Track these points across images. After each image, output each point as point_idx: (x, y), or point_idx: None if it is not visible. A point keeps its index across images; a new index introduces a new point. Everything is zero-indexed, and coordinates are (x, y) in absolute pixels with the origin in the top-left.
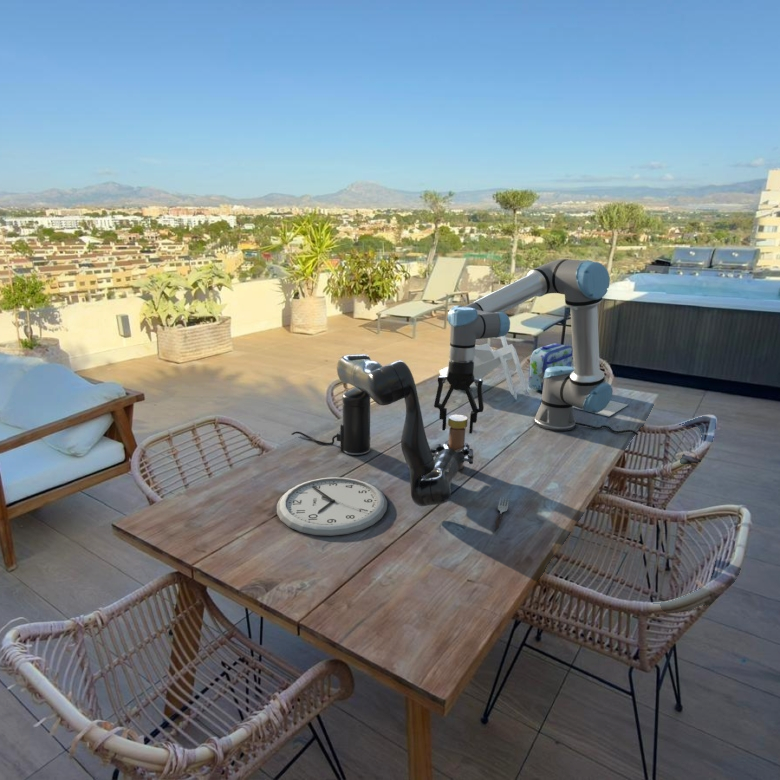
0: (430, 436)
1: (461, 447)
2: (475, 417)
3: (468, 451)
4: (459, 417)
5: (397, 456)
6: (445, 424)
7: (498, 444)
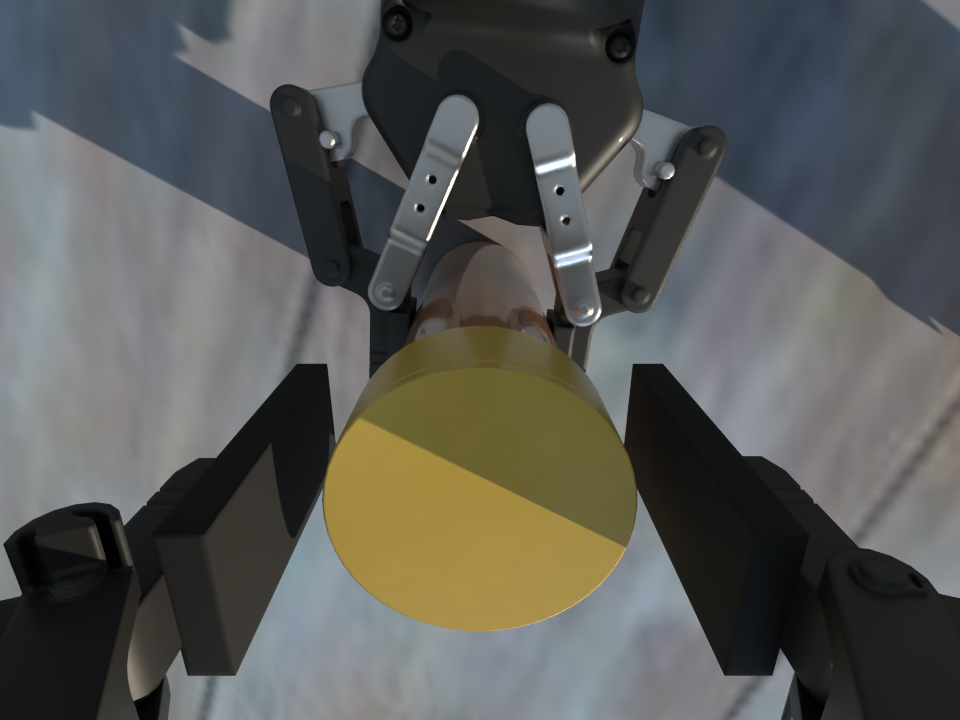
0: (674, 647)
1: (426, 299)
2: (158, 516)
3: (353, 252)
4: (459, 528)
5: (881, 337)
6: (644, 444)
7: (280, 644)
